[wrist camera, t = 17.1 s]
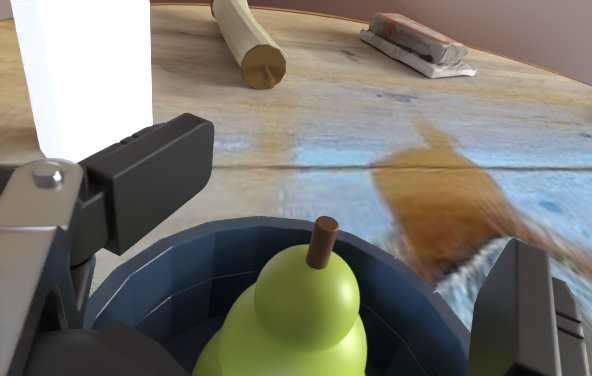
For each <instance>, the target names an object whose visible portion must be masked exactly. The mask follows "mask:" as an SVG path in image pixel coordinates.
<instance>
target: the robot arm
mask: <svg viewBox="0 0 592 376" xmlns="http://www.w3.org/2000/svg"><path fill="white" fill-rule="evenodd" d="M213 143H214V125H213V123H212V122H210V121H208V120H205V119H203V118H200V117H197V116H195V115H192V114H189V113H184V114H182V115H180V116H178V117H176V118H174V119H172V120H170V121H169V122H167V123H161V124H157V125H152V126H148V127H145V128H143V129H141V130H139V131H137V132H135V133H133V134H132V135H131V136H127V137H125V138H123V139H122V140H120V142H119V143H118V142H116V143H114V144H112V145H110V146H108V147H106V148H104V149H102V150H100V151H98V152H96V153H94V154H92V155H90V156H89V157H87V158H85V159H83V160H81V161H79V162H77V163H76V162H73V161H71V160H67V159H62V158H46V159H39V160H35V161H31V162H29V163H26V164H24V165H22V166H20V167H19V168H17V169H12V168H7V167H1V166H0V376H191V375H190V374H189V373H188V372H187V371H186V370H185V369H184V368H183V367H182V366H181V365H180V364H179V363H178V362H177V361H176V360H175V359H174V358H173V357H172V356H171V355H170V354H169V353H168V352H167V351H166V350H165V349H164V348H163V346H162V345H161V344H160V343H159V342H157V341H155V340H153V339H151V338H150V337H148V336H146V335H144V334H142V333H141V332H139V331H137V330H135V329H133V328H132V327H130V326H128V325H126V324H124V323H123V322H121V321H119V320H117V319H114V320H113V321H112V322H111V323H110V324H108V325H107V326H106V327H105V328H104V329H103V330H102V331H101V332H100V331H94V330H85V329H83V323H84V317H85V312H86V307H87V302H88V297H89V292H90V287H91V283H92V278H93V273H94V268H95V263H96V258H95V253H96V252H97V251H98V250H100V249H101V248H102V247H103V248H104V249H106V250H108V251H110V252H112V253H114V254H116V255H118V256H121V255H122V254H123V253H124V252H125V251H127V250H128V249H129V248H130V247H132V246H133V245H134V244H135V243H137V242H138V241H139V240H140V239H142V238H143V237H144V236H145V235H147V234H148V233H149V232H150V231H152V230H153V229H154V228H155V227H156V226H158V225H159V224H160V223H161V222H163V221H164V220H165V219H166V218H168V217H169V216H170V215H171V214H173V213H174V212H175V211H176V210H178V209H179V208H180V207H181V206H183V205H184V204H185V203H186V202H187V201H189V200H190V199H191V198H192V197H194V196H195V195H196V194H197V193H199V192H200V191H201V190H202V189H203V188H204V187H205V186H206V184H207V182H208V180H209V178H210V175H211V171H212V159H213ZM580 323H581V317H580V311H579V305H578V302H577V300H576V298H575V297H574V295H573V294H572V292H571V290H570V289H569V287H568V286H567V284H566V283H565V282H564V281H562V280H559V279H556V278H554V277H551V267H550V257H549V253H548V251H546V250H543V249H541V248H538V247H535V246H533V245H530V244H527V243H525V242H522V241H520V240H517V239H514V238H513V239H511V240H510V241H509V242H508V244H507V245H506V247H505V248H504V250H503V252H502V253H501V255H500V256H499V258H498V260H497V261H496V263H495V265H494V266H493V268H492V269H491V271H490V273H489V274H488V276H487V278H486V279H485V281H484V282H483V284H482V286H481V288H480V290H479V293H478V295H477V298H476V301H475V305H474V312H473V320H472V329H471V338H470V346H469V355H468V364H467V372H466V376H590V371H589V365H588V359H587V353H586V347H585V342H584V341H583V338H584V335H583V329H582V325H580Z"/></svg>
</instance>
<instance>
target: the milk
mask: <svg viewBox="0 0 592 376" xmlns="http://www.w3.org/2000/svg"><path fill="white" fill-rule="evenodd" d="M11 5H12V10H13V15H14V20H15V25H16V30H17V35H18V40H19V45H20V51H21V56H22V61H23V66H24V71H25V76H26V81H27V86H28V91H29V96H30V101H31V106H32V111H33V116H34V121H35V126H36V131H37V136H38V141H39V146H40V149H41V151H42V152H43V153H44V155H45V156H46V157H47V158H62V159H67V160H71V161H73V162H76V163H77V162H79V161H81V160H83V159H85V158H87V157H89V156H90V155H92V154H94V153H96V152H98V151H100V150H102V149H104V148H106V147H108V146H110V145H112V144H114V143H116V142H118V143H119V142H120V140H122V139H123V138H125V137H127V136H131V135H132V134H133V133H135V132H137V131H139V130H141V129H143V128H145V127H148V126H152V94H151V52H150V10H149V0H11Z"/></svg>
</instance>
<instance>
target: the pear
mask: <svg viewBox="0 0 592 376" xmlns="http://www.w3.org/2000/svg"><path fill="white" fill-rule="evenodd" d="M338 229H339V225H338V222H337V221H336V220H335V219H333V218H331V217H328V216H322V217H319V218H318V219H317V220H316V221H315V225H314V229H313V233H312V237H311V240H310V244H309V245H297V246H293V247H290V248H287V249H285V250H283V251H281V252H279V253H278V254H276V255H275V256H274V257H273V258H272V259H270V260H269V261H268V263H267V264H266V265H265V266H264V268H263V269H262V271H261V273H260V275H259V277H258V279H257V282H256V283H254V284H253V285H252V286H250V287H249V288H248V289H247V290H246V291H244V292H243V293H242V294H241V295H240V297H239V298H238V299H237V300H236V302H235V303H234V304H233V306H232V307H231V309H230V311H229V313H228V315H227V317H226V319H225V322H224V324H223V327H222V328H221V329H220V330H219V331H218V332H217V333H216V334H215V335H214V336H213V337H212V338H211V340H210V341H209V342H208V343H207V345H206V346H205V348H204V349H203V351H202V353H201V354H200V356H199V358H198V360H197V363H196V365H195V367H194V370H193V372H192V376H366V375H365V372H364V370H365V366H366V358H367V344H366V335H365V330H364V327H363V324H362V321H361V318H360V316H359V314H358V311H359V304H360V296H359V288H358V284H357V281H356V278H355V276H354V274H353V272H352V271H351V269H350V267H349V266H348V265H347V263H346V262H345V261H344V260H343V259H342V258H341V257H339V256H338V255H337V254H335V253H334V252H332V249H333V245H334V242H335V239H336V235H337V232H338Z"/></svg>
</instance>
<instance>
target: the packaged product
mask: <svg viewBox="0 0 592 376" xmlns="http://www.w3.org/2000/svg"><path fill="white" fill-rule="evenodd" d="M359 38H360V39H362V40H364V41H366V42H368V43H370V44H371V45H373V46H375V47H376V48H378V49H380V50H381V51H383V52H384V53H386V54H387V55H389V56H390V57H392V58H394V59H397V60H400V61H402V62H404V63H406V64H407V65H409V66H411V67H413V68H414V69H416V70H418V71H420V72H421V73H423V74H425V75H427V76H428V77H430V78H437V77H446V76H456V75H471V76H474V74H475V72H476V71H477V69H476V68H474V67H469V65H468V64H465V63H463V62H460V61H461V59H462V58H463V56H465V55H466V54H467V53H468V48H467V47H465V46H464V45H463V44H460V43H458V42H456V41H454V40H453V39H450V38H448V37H446V36H443V35H441V34H439V33H438V32H436V31H434V30H432V29H429V28H427V27H425V26H423V25H421V24H419V23H417V22H415V21H412V20H410V19H408V18H406V17H404V16H402V15H399V14H396V13H395V14H393V13H376V14H374V15H373V18H372V22H371V24H370V26H369V30H367V31H365V30H363V29H362V30H361V32H360V35H359Z"/></svg>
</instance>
